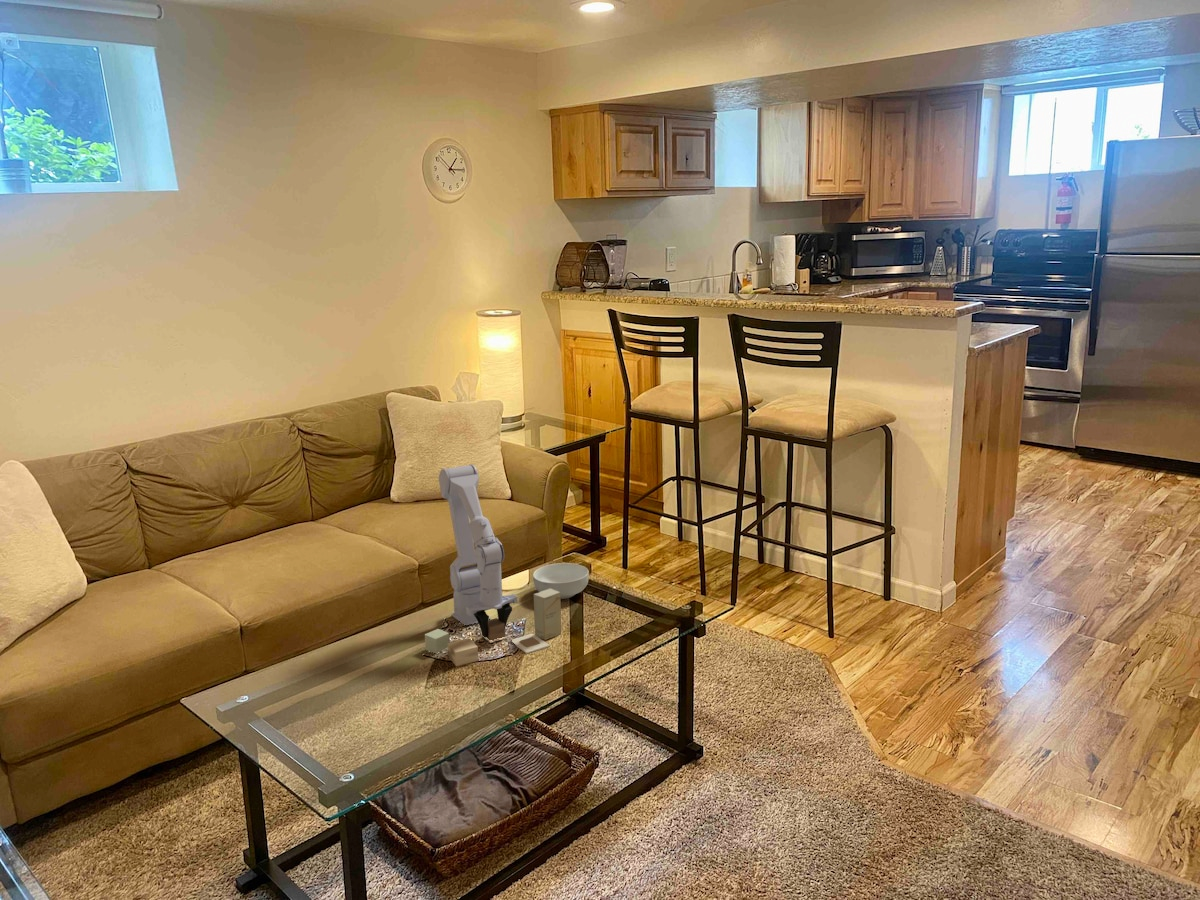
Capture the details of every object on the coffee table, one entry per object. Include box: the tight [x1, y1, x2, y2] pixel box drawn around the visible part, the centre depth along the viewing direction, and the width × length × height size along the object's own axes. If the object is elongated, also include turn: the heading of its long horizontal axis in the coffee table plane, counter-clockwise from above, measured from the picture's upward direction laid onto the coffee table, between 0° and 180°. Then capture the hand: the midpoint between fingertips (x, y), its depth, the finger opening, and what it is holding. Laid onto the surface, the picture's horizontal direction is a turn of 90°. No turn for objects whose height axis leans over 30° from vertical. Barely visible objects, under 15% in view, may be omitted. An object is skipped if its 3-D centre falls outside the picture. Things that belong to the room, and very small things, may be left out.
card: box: [511, 633, 551, 655], centre depth 236 cm, size 9×7×1 cm
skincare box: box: [533, 588, 562, 641], centre depth 240 cm, size 6×4×12 cm
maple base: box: [447, 637, 479, 667], centre depth 228 cm, size 6×6×4 cm
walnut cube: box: [487, 617, 506, 640], centre depth 239 cm, size 4×4×4 cm
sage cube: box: [424, 628, 451, 655], centre depth 233 cm, size 4×4×4 cm
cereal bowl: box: [532, 562, 590, 600], centre depth 268 cm, size 17×17×7 cm
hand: (493, 633), depth 239 cm, fingers closed on walnut cube, 4 cm apart
